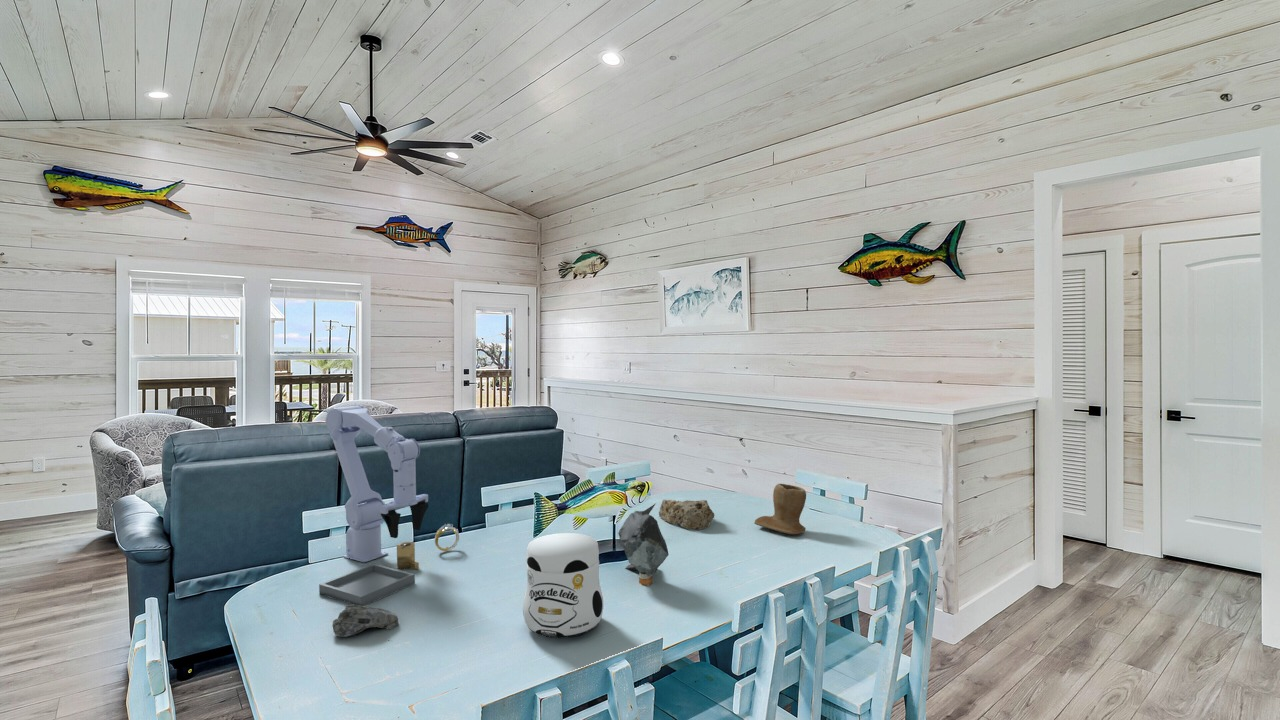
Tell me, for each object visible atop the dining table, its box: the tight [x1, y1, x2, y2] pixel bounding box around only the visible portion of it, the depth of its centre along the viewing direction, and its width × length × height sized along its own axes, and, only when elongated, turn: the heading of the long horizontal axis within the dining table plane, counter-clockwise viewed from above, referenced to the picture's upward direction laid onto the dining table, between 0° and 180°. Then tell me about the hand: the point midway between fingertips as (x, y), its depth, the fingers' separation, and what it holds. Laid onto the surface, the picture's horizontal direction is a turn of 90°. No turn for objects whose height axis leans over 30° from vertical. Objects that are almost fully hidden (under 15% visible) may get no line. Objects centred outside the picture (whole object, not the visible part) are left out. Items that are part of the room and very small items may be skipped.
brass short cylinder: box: [396, 541, 420, 570], centre depth 166 cm, size 7×5×6 cm
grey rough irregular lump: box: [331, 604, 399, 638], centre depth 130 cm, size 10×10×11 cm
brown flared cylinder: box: [753, 483, 807, 535], centre depth 197 cm, size 15×12×15 cm
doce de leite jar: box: [522, 532, 604, 639], centre depth 131 cm, size 17×17×18 cm
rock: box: [658, 499, 715, 531], centre depth 207 cm, size 20×14×10 cm
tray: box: [318, 563, 416, 607], centre depth 152 cm, size 16×16×2 cm
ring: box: [434, 523, 460, 552], centre depth 178 cm, size 7×3×8 cm, turn 121°
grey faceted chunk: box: [618, 503, 669, 586], centre depth 157 cm, size 14×15×18 cm
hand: (405, 533), depth 166 cm, fingers open, 7 cm apart
